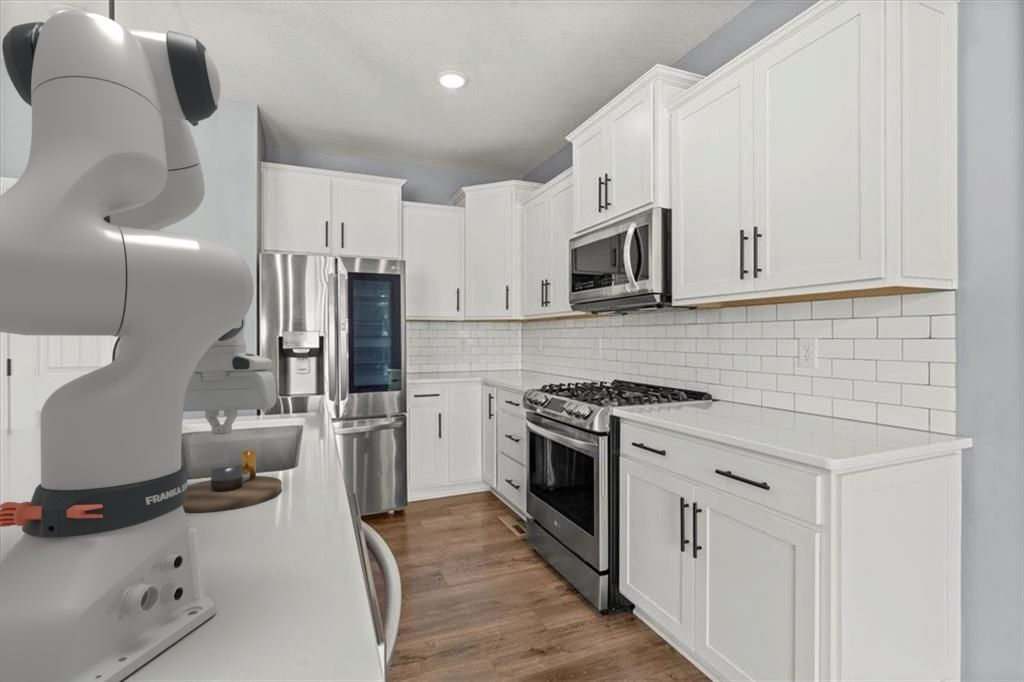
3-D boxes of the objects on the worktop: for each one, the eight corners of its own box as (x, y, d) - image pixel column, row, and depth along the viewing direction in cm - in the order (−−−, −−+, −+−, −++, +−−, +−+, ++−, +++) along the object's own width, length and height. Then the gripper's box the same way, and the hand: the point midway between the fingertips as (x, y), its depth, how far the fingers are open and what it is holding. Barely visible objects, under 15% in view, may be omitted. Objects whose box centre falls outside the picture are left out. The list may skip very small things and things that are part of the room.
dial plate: (254, 511, 85) (254, 497, 85) (142, 514, 85) (142, 499, 85) (296, 482, 103) (296, 470, 103) (204, 484, 103) (204, 473, 103)
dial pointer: (231, 490, 91) (230, 461, 91) (204, 490, 92) (204, 460, 92) (264, 476, 102) (264, 449, 102) (240, 475, 102) (240, 449, 102)
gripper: (156, 364, 97) (157, 438, 97) (263, 360, 97) (264, 435, 96) (179, 363, 104) (180, 433, 103) (279, 360, 103) (281, 430, 102)
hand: (221, 434), depth 100 cm, fingers closed
